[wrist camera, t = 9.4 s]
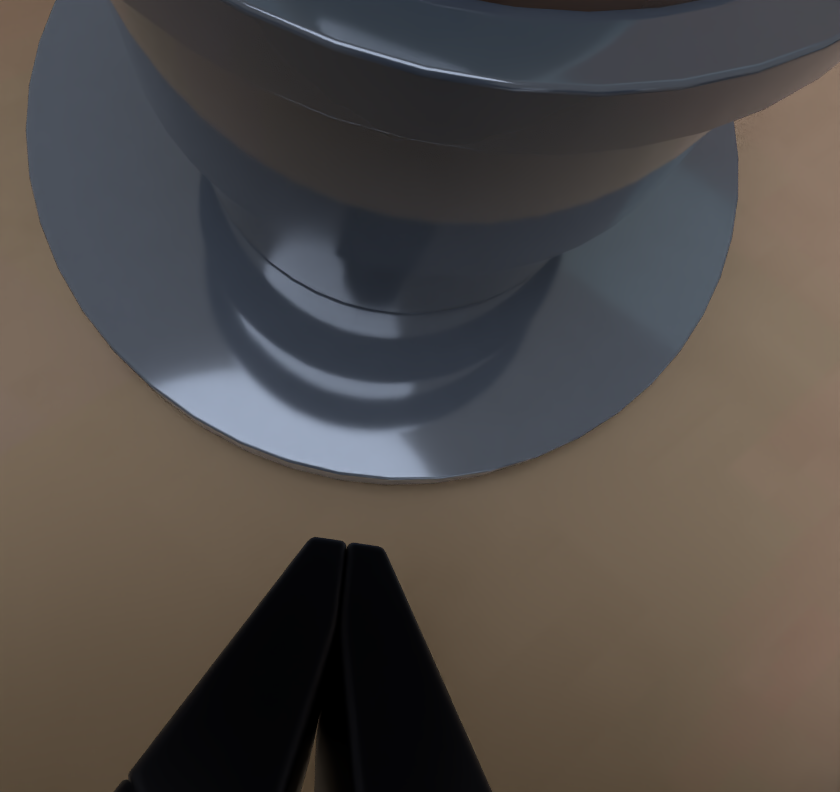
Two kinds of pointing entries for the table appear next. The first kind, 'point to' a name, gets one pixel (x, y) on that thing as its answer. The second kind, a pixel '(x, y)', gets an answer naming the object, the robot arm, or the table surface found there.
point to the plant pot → (402, 208)
